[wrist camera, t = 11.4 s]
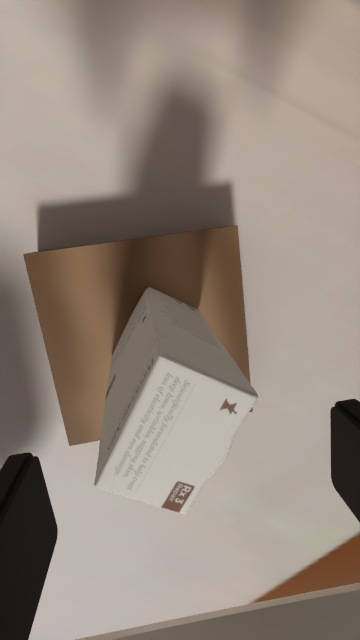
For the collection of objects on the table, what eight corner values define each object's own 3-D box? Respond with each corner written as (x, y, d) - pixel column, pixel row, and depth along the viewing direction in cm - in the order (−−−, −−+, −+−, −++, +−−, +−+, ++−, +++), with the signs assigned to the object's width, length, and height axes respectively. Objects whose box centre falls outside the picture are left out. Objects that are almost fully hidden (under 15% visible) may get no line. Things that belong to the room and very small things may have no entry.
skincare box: (145, 284, 23) (154, 343, 11) (204, 311, 24) (266, 391, 12) (108, 362, 24) (81, 488, 13) (165, 385, 25) (189, 522, 14)
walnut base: (222, 226, 27) (237, 225, 23) (237, 389, 30) (252, 411, 27) (39, 251, 26) (23, 254, 22) (77, 418, 29) (69, 445, 25)
